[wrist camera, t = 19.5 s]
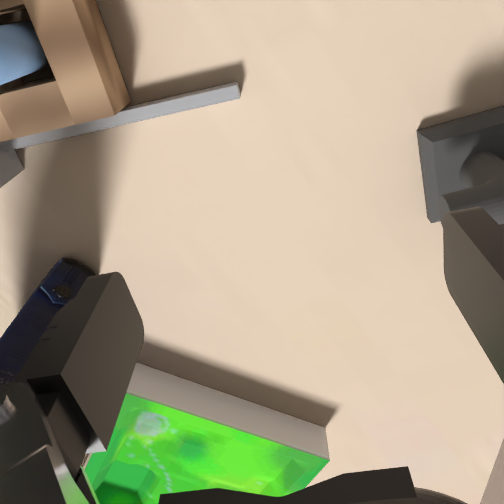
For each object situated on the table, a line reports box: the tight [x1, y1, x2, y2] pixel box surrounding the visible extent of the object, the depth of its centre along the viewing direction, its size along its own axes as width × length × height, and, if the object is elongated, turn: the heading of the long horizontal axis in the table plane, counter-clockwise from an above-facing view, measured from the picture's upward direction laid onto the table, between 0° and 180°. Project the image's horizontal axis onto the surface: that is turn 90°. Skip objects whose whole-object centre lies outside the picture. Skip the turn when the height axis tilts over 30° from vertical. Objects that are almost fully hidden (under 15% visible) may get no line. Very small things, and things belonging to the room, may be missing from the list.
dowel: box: [0, 20, 50, 85], centre depth 31 cm, size 3×3×9 cm
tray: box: [83, 362, 330, 504], centre depth 58 cm, size 25×25×5 cm
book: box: [0, 258, 96, 386], centre depth 39 cm, size 14×5×20 cm, turn 149°
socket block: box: [0, 0, 131, 142], centre depth 33 cm, size 11×11×4 cm
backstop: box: [0, 81, 241, 188], centre depth 32 cm, size 18×22×6 cm
